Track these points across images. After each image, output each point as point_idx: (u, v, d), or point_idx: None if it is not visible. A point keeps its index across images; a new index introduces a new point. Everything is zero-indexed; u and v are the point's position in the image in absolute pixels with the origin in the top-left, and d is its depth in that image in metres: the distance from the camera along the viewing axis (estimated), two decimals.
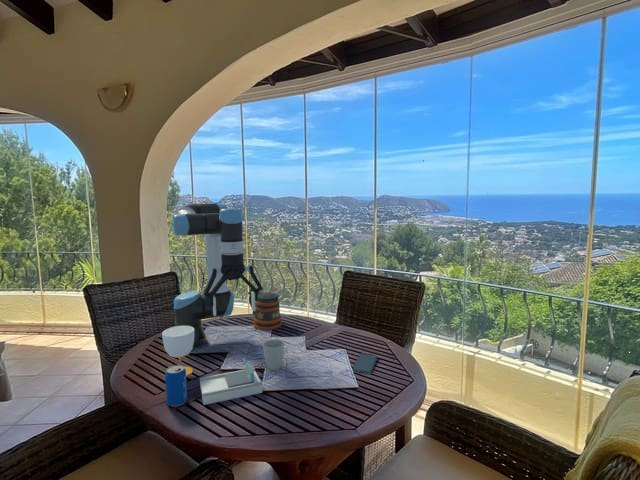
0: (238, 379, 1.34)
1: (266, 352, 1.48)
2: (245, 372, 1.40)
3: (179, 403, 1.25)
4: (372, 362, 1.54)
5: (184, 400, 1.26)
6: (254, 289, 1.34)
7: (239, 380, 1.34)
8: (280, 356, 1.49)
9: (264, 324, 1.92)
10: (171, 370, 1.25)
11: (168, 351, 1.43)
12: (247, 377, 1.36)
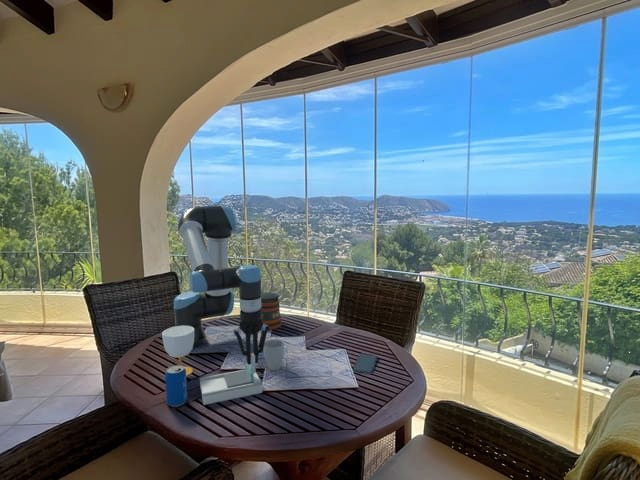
0: (237, 379, 1.34)
1: (266, 352, 1.48)
2: (244, 372, 1.39)
3: (179, 403, 1.25)
4: (372, 362, 1.54)
5: (184, 400, 1.26)
6: (256, 351, 1.36)
7: (238, 380, 1.34)
8: (280, 356, 1.49)
9: None
10: (171, 370, 1.25)
11: (168, 351, 1.43)
12: (246, 377, 1.36)
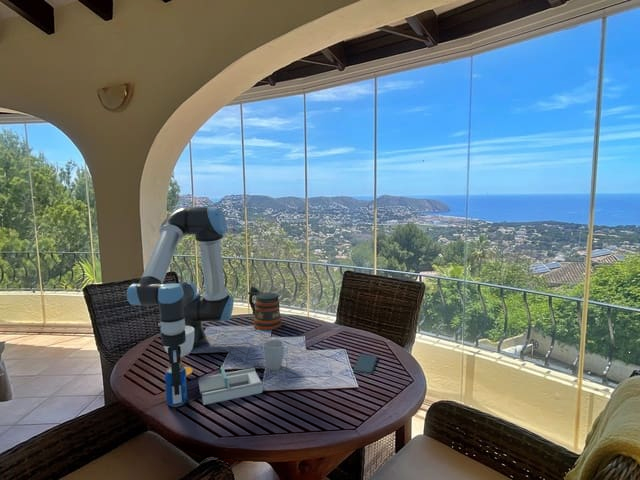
0: (211, 384, 1.31)
1: (266, 352, 1.48)
2: (219, 377, 1.36)
3: (179, 403, 1.25)
4: (372, 362, 1.54)
5: (184, 400, 1.26)
6: None
7: (212, 385, 1.30)
8: (280, 356, 1.49)
9: (264, 324, 1.92)
10: (171, 370, 1.25)
11: None
12: (221, 382, 1.32)
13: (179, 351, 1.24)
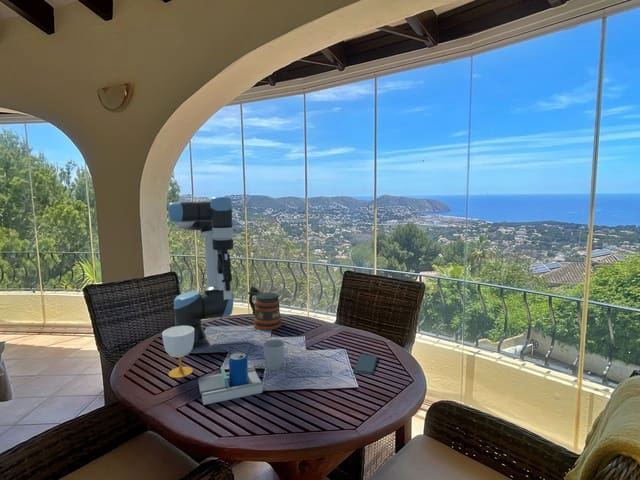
0: (211, 384, 1.31)
1: (266, 352, 1.48)
2: (219, 377, 1.36)
3: None
4: (372, 362, 1.54)
5: None
6: (223, 278, 1.35)
7: (212, 385, 1.30)
8: (280, 356, 1.49)
9: (264, 324, 1.92)
10: (234, 357, 1.34)
11: (168, 351, 1.43)
12: (221, 382, 1.32)
13: None
